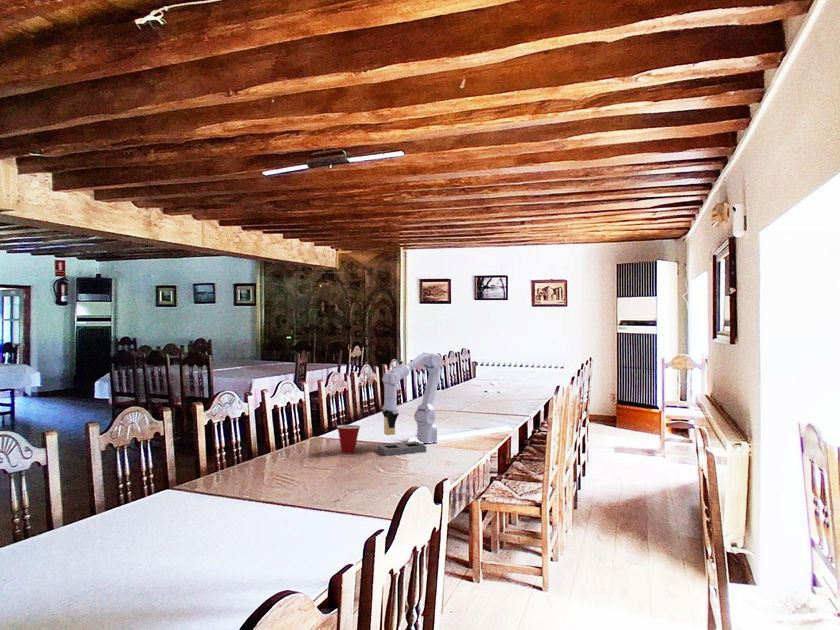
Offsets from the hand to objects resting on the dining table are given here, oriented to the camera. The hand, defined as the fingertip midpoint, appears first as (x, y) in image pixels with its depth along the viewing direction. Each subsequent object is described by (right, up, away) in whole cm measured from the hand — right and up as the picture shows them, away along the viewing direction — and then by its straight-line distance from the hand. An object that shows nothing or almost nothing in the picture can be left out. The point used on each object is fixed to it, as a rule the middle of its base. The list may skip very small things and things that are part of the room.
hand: (390, 427), depth 253 cm
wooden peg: (0, -3, 0) cm, 3 cm away
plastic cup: (-19, -10, -7) cm, 22 cm away
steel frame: (+6, -10, -6) cm, 13 cm away
